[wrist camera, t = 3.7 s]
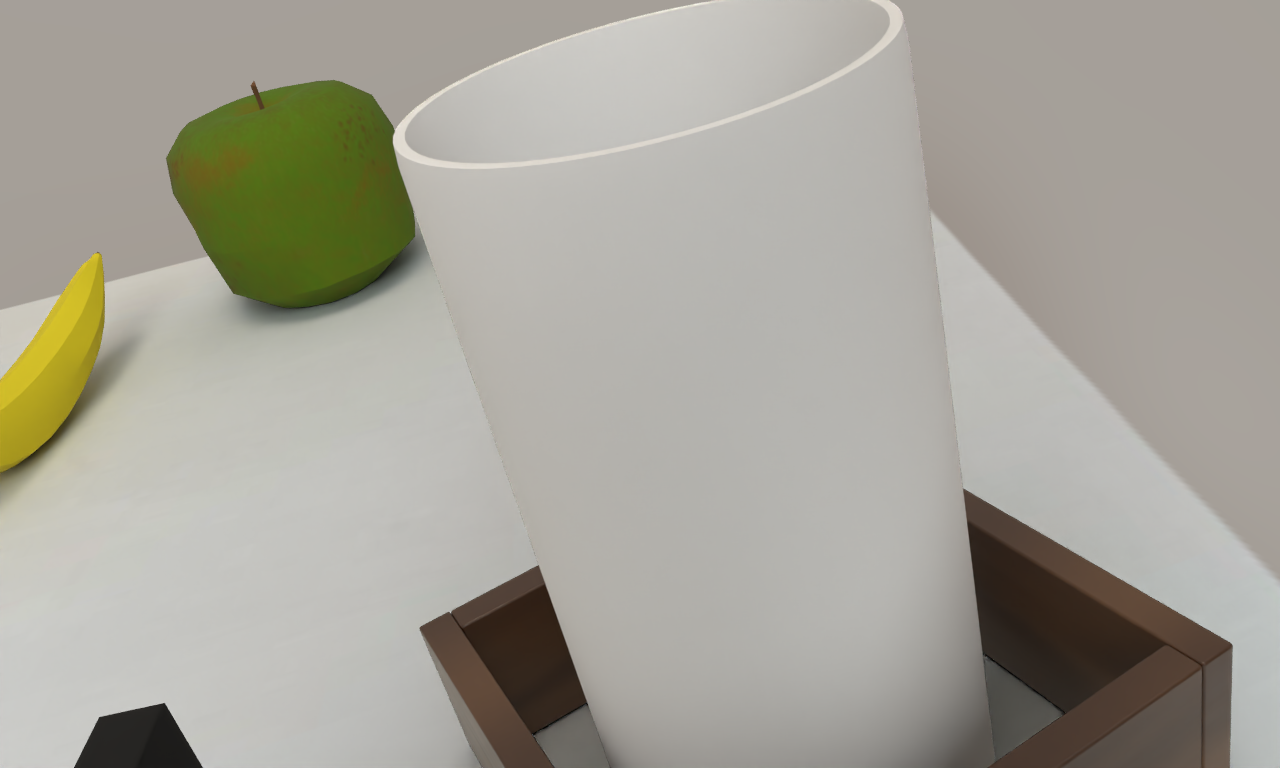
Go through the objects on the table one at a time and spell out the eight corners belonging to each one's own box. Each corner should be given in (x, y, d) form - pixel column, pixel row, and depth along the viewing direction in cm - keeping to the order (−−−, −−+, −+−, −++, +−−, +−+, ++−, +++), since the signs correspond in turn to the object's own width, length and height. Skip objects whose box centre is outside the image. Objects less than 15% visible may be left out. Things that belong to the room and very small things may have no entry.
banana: (165, 331, 60) (111, 220, 57) (-43, 559, 43) (-135, 420, 40) (116, 341, 60) (59, 232, 57) (-108, 570, 44) (-204, 434, 41)
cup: (622, 674, 29) (424, 68, 22) (936, 609, 29) (845, -39, 21) (634, 970, 22) (345, 218, 15) (1053, 890, 22) (978, 63, 14)
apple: (465, 227, 63) (400, 32, 58) (369, 321, 54) (283, 101, 49) (302, 245, 67) (228, 64, 62) (189, 334, 59) (92, 133, 53)
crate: (1230, 793, 23) (1234, 643, 21) (725, 1183, 19) (672, 1041, 17) (851, 527, 32) (830, 410, 31) (469, 745, 29) (418, 626, 27)
